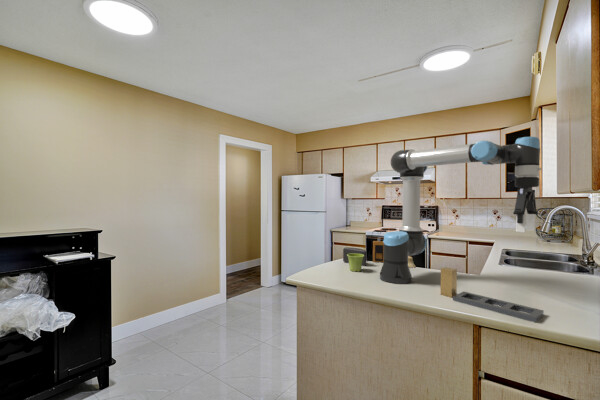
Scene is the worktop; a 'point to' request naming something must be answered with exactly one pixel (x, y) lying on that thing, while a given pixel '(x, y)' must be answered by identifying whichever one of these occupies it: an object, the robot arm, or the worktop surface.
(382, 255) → the multimeter
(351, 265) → the plant pot
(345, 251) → the leaning round-cornered charcoal block
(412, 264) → the hand bell
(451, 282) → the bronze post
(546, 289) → the worktop surface
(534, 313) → the grey slotted tray
